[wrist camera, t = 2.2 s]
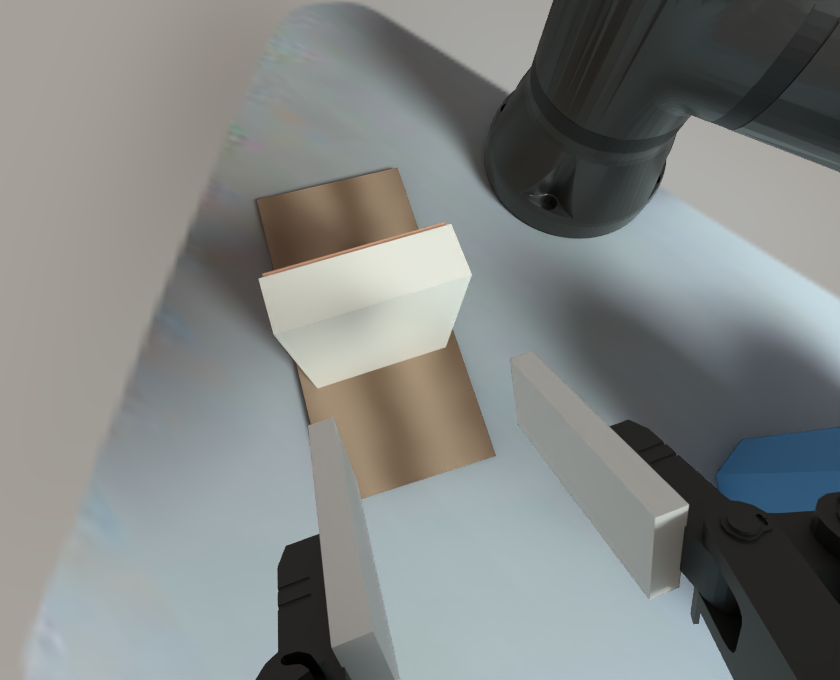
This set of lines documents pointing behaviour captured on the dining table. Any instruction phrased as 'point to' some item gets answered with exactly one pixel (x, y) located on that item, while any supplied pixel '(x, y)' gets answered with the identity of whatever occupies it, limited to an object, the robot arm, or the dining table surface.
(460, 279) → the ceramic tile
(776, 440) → the water bottle
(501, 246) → the dining table surface
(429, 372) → the walnut board
